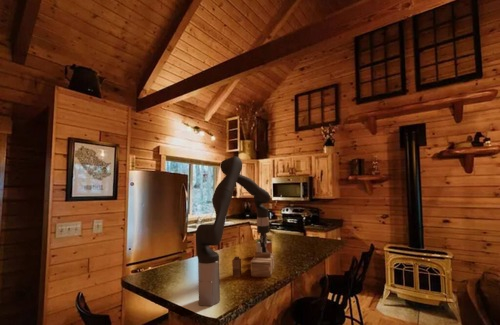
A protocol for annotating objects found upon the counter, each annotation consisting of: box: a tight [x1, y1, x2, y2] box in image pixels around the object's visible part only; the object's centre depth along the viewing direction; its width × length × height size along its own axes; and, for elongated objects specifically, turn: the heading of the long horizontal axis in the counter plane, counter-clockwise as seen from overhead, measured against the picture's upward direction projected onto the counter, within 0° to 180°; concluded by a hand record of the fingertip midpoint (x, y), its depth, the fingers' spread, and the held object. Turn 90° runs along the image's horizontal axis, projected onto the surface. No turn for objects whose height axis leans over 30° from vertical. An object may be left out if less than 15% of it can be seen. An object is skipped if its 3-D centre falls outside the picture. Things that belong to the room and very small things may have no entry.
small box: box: [256, 241, 273, 254], centre depth 172 cm, size 8×6×13 cm
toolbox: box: [250, 256, 276, 278], centre depth 152 cm, size 18×11×7 cm, turn 167°
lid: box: [250, 251, 275, 264], centre depth 153 cm, size 18×11×4 cm, turn 167°
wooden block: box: [231, 256, 242, 278], centre depth 147 cm, size 4×4×10 cm
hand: (264, 253), depth 158 cm, fingers closed
